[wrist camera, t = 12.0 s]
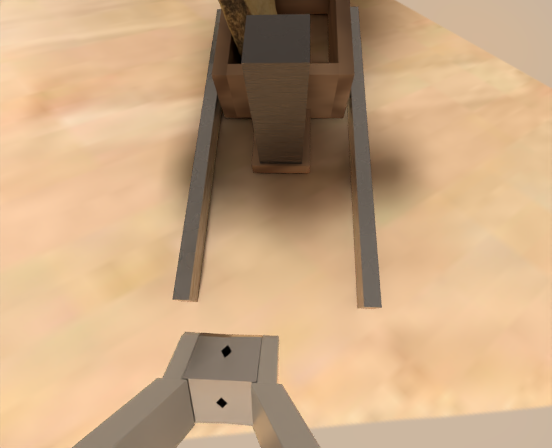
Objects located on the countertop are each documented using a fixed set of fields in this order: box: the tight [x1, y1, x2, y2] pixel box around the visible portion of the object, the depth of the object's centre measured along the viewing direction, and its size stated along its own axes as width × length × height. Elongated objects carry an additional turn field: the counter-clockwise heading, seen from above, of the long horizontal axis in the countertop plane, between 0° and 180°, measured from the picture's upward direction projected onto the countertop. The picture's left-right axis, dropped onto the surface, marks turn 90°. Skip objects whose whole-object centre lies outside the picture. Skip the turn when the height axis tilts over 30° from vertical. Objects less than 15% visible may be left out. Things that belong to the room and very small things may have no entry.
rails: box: [173, 7, 382, 309], centre depth 26 cm, size 15×30×2 cm, turn 178°
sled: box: [212, 0, 355, 173], centre depth 24 cm, size 11×21×11 cm, turn 178°
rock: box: [218, 0, 278, 58], centre depth 27 cm, size 11×9×10 cm
